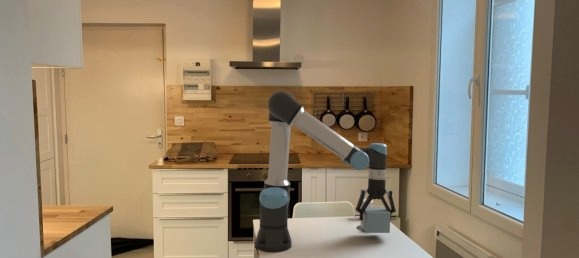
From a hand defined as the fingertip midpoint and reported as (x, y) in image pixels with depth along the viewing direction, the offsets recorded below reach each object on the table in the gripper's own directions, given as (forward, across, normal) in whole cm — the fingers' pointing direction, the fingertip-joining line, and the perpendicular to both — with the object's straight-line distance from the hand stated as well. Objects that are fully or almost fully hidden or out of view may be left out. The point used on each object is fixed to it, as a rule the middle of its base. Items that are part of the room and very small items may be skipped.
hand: (374, 227), depth 183 cm
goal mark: (+5, +1, +14) cm, 15 cm away
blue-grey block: (+1, 0, 0) cm, 1 cm away
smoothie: (+5, +5, +30) cm, 31 cm away
